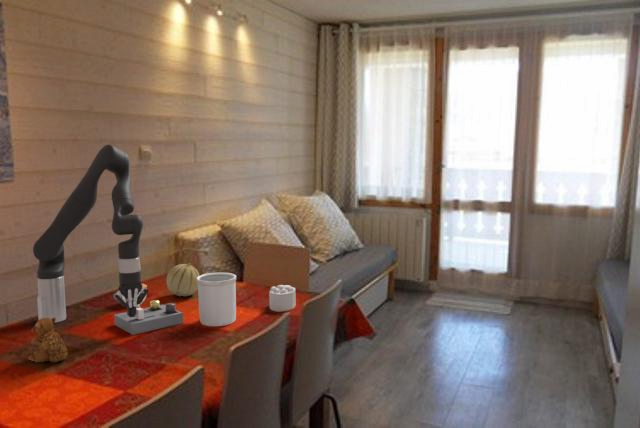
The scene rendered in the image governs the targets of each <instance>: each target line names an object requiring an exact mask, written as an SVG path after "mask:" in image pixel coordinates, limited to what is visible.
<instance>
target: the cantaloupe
mask: <svg viewBox="0 0 640 428" xmlns="http://www.w3.org/2000/svg"><path fill="white" fill-rule="evenodd" d="M191 264H192V263H190V262H189V263H179V264H177V265H175V266H173V267H172V268H171V269H170V271H168V274H167V276H166V286H167V289H168V290H169V292H170V293H172V294H174V295H175V296H178V297H181V296H183V297H189V296H191V295H194V293H196V292H197V291H198V283H197V277H198V276H200V273H199V271H198V269H197V268H195V266H193V265H191Z"/></svg>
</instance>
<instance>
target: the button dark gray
mask: <svg viewBox="0 0 640 428" xmlns="http://www.w3.org/2000/svg"><path fill="white" fill-rule="evenodd" d="M164 305H165V306H166V313H174V312H175V310H176V303H175V302H168V303H165V304H164Z"/></svg>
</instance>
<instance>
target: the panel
mask: <svg viewBox="0 0 640 428" xmlns="http://www.w3.org/2000/svg"><path fill="white" fill-rule="evenodd" d="M143 309H144V319H140V320H138V319H136V318H135V317H129V316H128V315H127V311H126V312H121V313H115V314H113V316H114V319H113V320H114V325H115V326H116V327H117V328H120V329H121V330H123V331H125V332H127V333H129V334H130V335H131V336H134V335H138V334H144V333H147V332H151V331H156V330H159V329H164V328H169V327H173V326H177V325H181V324H184V313H183V311H179V310H177V309H175V312H174V313H166V306H165V304H160V309H158V310H150V306H149V307H145V308H143Z"/></svg>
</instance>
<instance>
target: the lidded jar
mask: <svg viewBox="0 0 640 428" xmlns="http://www.w3.org/2000/svg"><path fill="white" fill-rule="evenodd" d="M141 284H142V286H143V288H145V289H147V290H148V285H147V284H146V283H141ZM139 294H140V292H139ZM139 294H138V296H139ZM147 295H148V293H147V294H146V296H145V298H144V299H143V301H142V302H141V304H139V306H141V305H142V304H143V302H145V300H146V298H147ZM138 296H137V297H138ZM121 299H122V300H123V301H124V302H125V303H126V301H125V297H124V296H123V295H122V294H121Z"/></svg>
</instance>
